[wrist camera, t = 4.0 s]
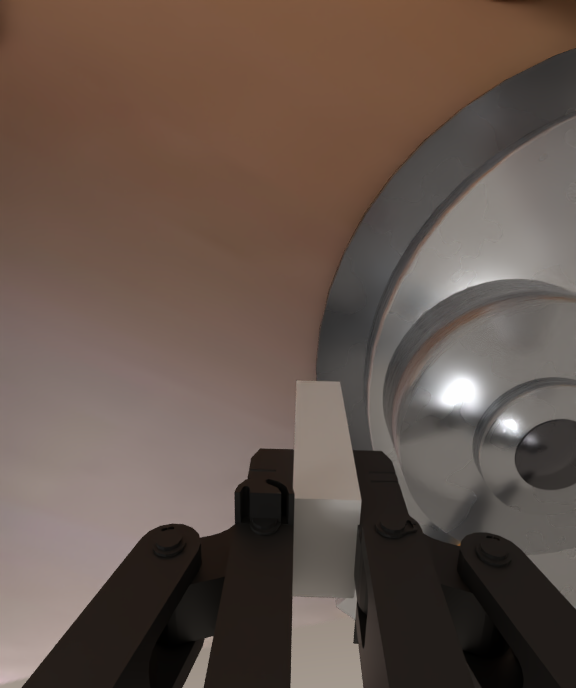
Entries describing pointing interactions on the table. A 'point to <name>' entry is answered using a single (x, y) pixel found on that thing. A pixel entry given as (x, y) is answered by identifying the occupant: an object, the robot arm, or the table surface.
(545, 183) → the turntable
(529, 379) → the cover
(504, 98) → the turntable base
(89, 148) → the table surface
